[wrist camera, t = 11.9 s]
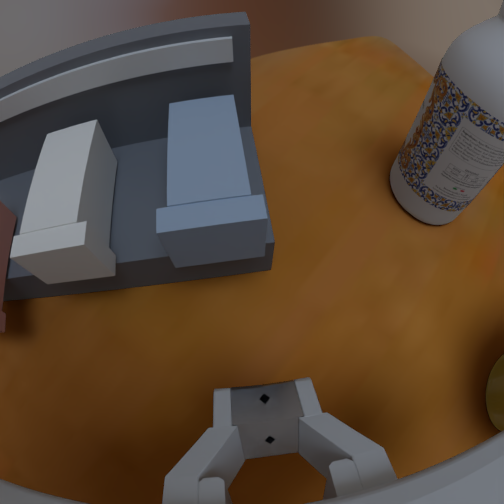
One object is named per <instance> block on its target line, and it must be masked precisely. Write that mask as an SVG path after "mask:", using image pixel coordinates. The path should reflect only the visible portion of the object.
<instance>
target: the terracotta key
mask: <svg viewBox="0 0 504 504" xmlns="http://www.w3.org/2000/svg"><path fill="white" fill-rule="evenodd" d="M16 218H17V217H16V216H15V215H14V214H13V213H12V212H11V211H10V210H9V209H8V208H7V207H6V206H5V205H4V204H3V203H2V202H1V201H0V333H1V332H5V321H6V313H4V312H2V306H3V296H4V287H5V279H6V272H7V265H8V258H9V253H10V247H11V242H12V236H13V231H14V227H15V222H16Z"/></svg>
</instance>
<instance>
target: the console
mask: <svg viewBox="0 0 504 504" xmlns="http://www.w3.org/2000/svg"><path fill="white" fill-rule="evenodd" d="M225 95H234V101H235V106H236V112H237V117H238V123H239V128H240V134H241V139H242V145H243V151H244V156H245V162H246V168H247V173H248V179H249V185H250V190H251V196H252V195H261V194H263V197H264V202H265V207H266V213H267V218H268V220H267V233H266V246H265V256H263V257H255V258H248V259H240V260H233V261H225V262H218V263H210V264H202V265H195V266H187V267H179V268H175V266H174V264H173V262H172V261H171V259H170V257H169V255H168V253H167V252H166V250H165V248H164V246H163V245H162V243H161V241H160V239H159V237H158V235H157V234H156V209H158V208H165V207H167V148H168V120H169V103H175V102H181V101H188V100H194V99H201V98H208V97H216V96H225ZM96 119H97V120H98V122H99V124H100V126H101V129H102V131H103V133H104V135H105V137H106V139H107V141H108V143H109V145H110V147H111V150H112V152H113V154H114V156H115V158H116V160H117V168H116V176H115V184H114V193H113V203H112V213H111V225H110V240H109V248H110V249H111V250H112V252H113V253H114V254H115V255H116V267H115V276H110V277H102V278H94V279H86V280H78V281H70V282H62V283H54V284H46V283H45V282H43V281H42V280H40V279H39V278H38V277H36V276H35V275H33V274H32V273H30V272H29V271H27V270H26V269H25V268H23V267H22V266H20V265H19V264H18V263H16V262H15V261H14V260H12V259H11V258H10V254H11V248H12V243H13V238H14V236H17V235H20V229H21V224H22V219H23V215H24V210H25V206H26V202H27V198H28V194H29V190H30V187H31V183H32V179H33V176H34V172H35V169H36V166H37V163H38V159H39V156H40V153H41V150H42V147H43V144H44V141H45V139H46V136H47V134H49V133H52V132H55V131H58V130H61V129H65V128H68V127H71V126H75V125H78V124H82V123H85V122H89V121H92V120H96ZM0 201H1V202H2V203H3V204H4V205H5V206H6V207H7V208H8V209H9V210H10V211H11V212H12V213H13V214H14V215H15V216H16V217H17V218H16V222H15V227H14V231H13V236H12V242H11V247H10V253H9V258H8V265H7V272H6V279H5V287H4V296H3V301H10V300H21V299H31V298H41V297H51V296H60V295H69V294H79V293H88V292H97V291H106V290H115V289H123V288H132V287H140V286H149V285H157V284H165V283H173V282H181V281H189V280H197V279H205V278H213V277H220V276H228V275H236V274H243V273H251V272H258V271H265V270H271V265H272V258H273V251H274V243H275V242H274V236H273V231H272V226H271V221H270V216H269V211H268V206H267V201H266V196H265V191H264V186H263V181H262V176H261V172H260V167H259V162H258V157H257V152H256V148H255V143H254V138H253V134H252V129H251V72H250V23H249V20H248V18H247V15H246V12H238V13H226V14H215V15H206V16H198V17H191V18H184V19H179V20H172V21H167V22H161V23H156V24H152V25H147V26H142V27H138V28H133V29H130V30H125V31H122V32H118V33H114V34H110V35H107V36H103V37H100V38H97V39H94V40H90V41H87V42H84V43H81V44H78V45H75V46H72V47H69V48H67V49H64V50H61V51H59V52H56V53H54V54H51V55H48V56H46V57H44V58H41V59H39V60H36V61H34V62H32V63H29V64H27V65H25V66H23V67H20V68H18V69H16V70H14V71H12V72H10V73H8V74H6V75H4V76H2V77H0Z"/></svg>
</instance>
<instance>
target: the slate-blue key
mask: <svg viewBox="0 0 504 504" xmlns="http://www.w3.org/2000/svg"><path fill="white" fill-rule="evenodd" d="M267 220H268V218H267V213H266V207H265V202H264V197H263V194H261V195H252V196H251V190H250V185H249V179H248V173H247V168H246V162H245V156H244V151H243V145H242V139H241V134H240V128H239V123H238V117H237V112H236V106H235V101H234V95H225V96H216V97H208V98H201V99H194V100H188V101H181V102H175V103H169V120H168V148H167V207H165V208H158V209H156V234H157V235H158V237H159V239H160V241H161V243H162V245H163V246H164V248H165V250H166V252H167V253H168V255H169V257H170V259H171V261H172V262H173V264H174V266H175V268H179V267H187V266H195V265H202V264H210V263H218V262H225V261H233V260H240V259H248V258H255V257H263V256H265V246H266V233H267Z"/></svg>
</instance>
